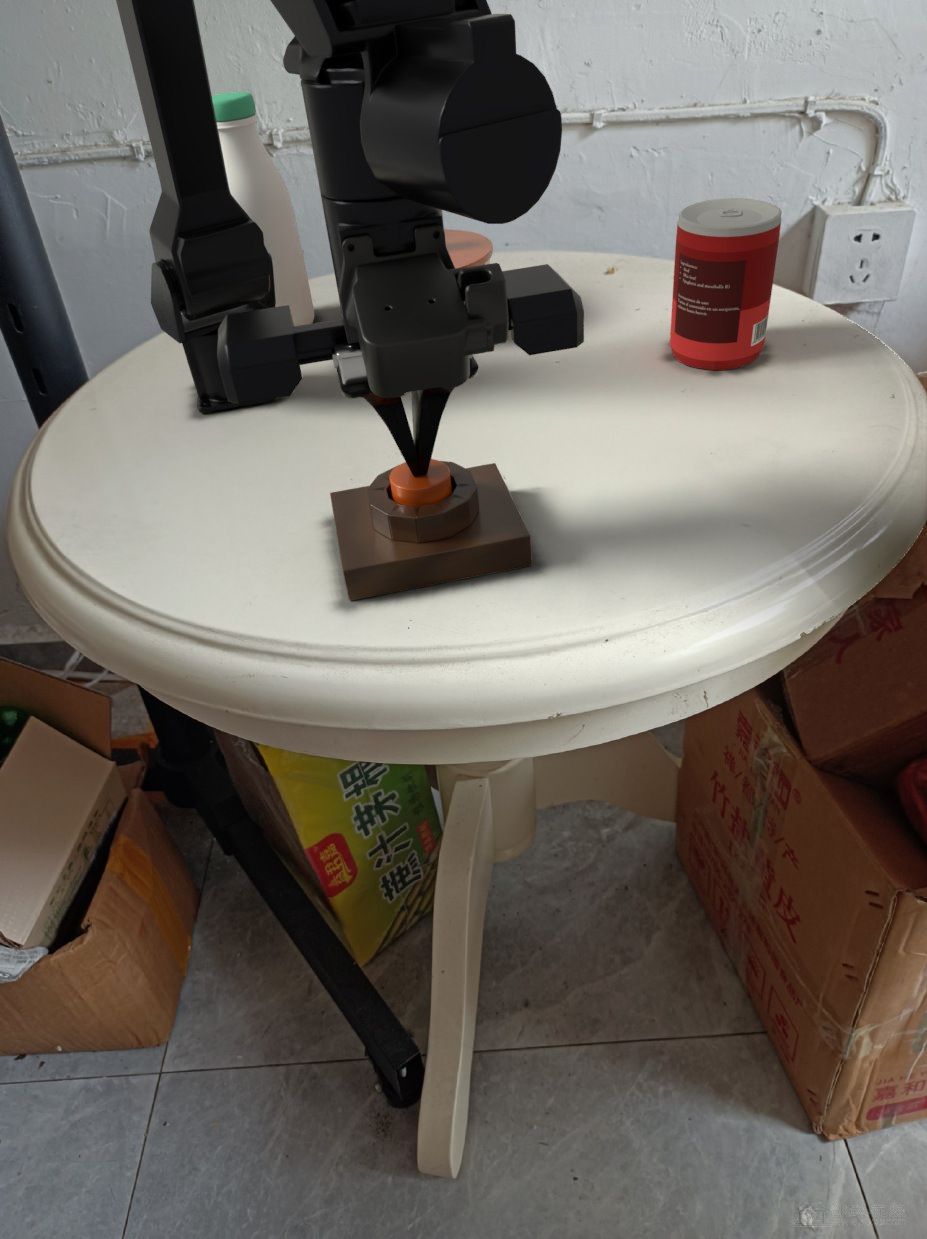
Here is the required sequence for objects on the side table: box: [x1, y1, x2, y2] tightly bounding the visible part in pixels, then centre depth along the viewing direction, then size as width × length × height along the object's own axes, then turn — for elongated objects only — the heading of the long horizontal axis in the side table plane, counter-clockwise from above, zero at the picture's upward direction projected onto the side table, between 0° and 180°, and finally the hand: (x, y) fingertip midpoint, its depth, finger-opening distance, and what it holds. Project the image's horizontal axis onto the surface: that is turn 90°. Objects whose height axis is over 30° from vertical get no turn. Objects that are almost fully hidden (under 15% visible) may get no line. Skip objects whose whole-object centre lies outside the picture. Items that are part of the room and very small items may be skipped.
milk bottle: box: [211, 91, 316, 326], centre depth 80 cm, size 8×8×20 cm
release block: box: [329, 460, 533, 601], centre depth 53 cm, size 11×9×4 cm
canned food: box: [669, 197, 782, 371], centre depth 69 cm, size 8×8×11 cm
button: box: [389, 458, 452, 507], centre depth 52 cm, size 4×4×2 cm
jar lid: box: [444, 228, 494, 268], centre depth 77 cm, size 14×14×5 cm
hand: (419, 472), depth 51 cm, fingers closed, pressing on button
